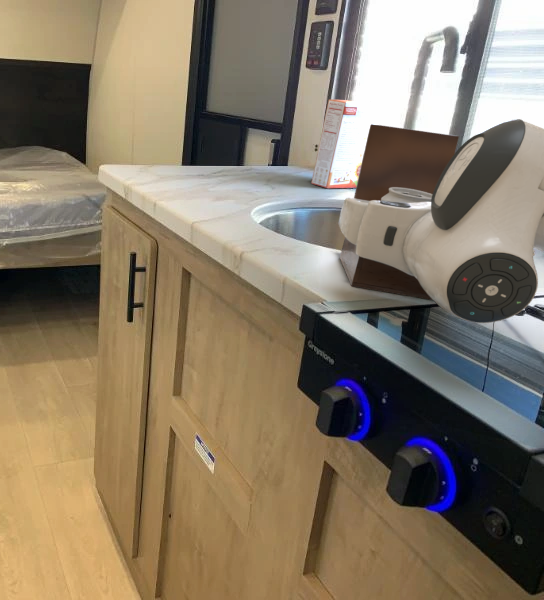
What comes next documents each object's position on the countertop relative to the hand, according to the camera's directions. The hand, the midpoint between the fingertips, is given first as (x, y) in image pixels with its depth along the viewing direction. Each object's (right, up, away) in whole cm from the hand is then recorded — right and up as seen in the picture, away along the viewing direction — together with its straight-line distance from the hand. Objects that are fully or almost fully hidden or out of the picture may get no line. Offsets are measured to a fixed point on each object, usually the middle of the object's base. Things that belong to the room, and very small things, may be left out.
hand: (413, 214), depth 79 cm
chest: (-1, -8, +6) cm, 10 cm away
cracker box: (+14, +18, +75) cm, 79 cm away
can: (-1, -8, +6) cm, 10 cm away
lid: (+2, +6, +8) cm, 11 cm away
